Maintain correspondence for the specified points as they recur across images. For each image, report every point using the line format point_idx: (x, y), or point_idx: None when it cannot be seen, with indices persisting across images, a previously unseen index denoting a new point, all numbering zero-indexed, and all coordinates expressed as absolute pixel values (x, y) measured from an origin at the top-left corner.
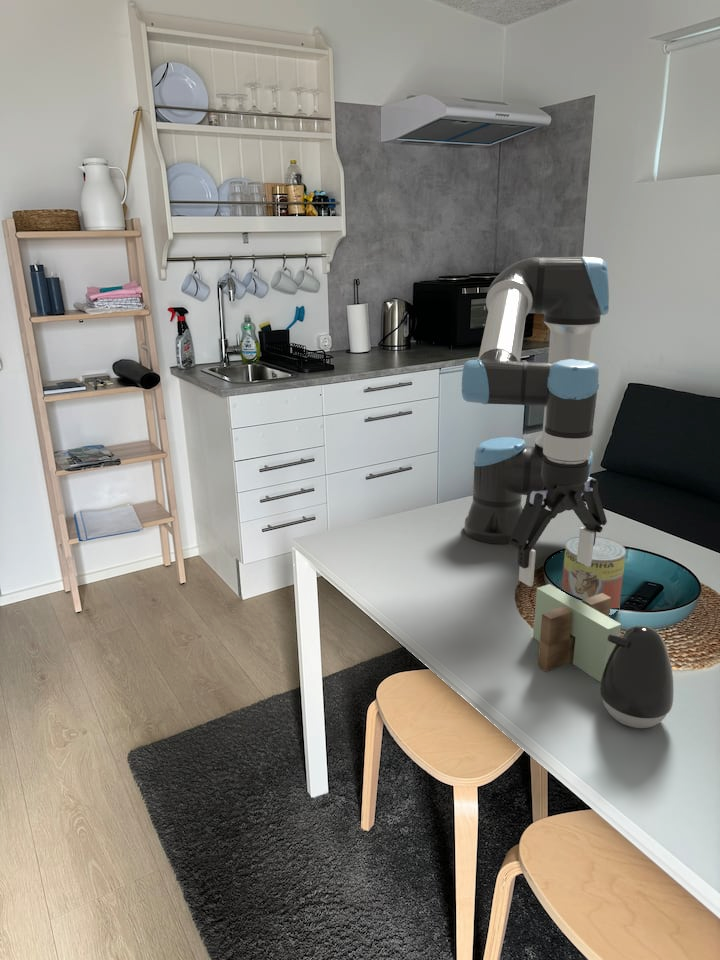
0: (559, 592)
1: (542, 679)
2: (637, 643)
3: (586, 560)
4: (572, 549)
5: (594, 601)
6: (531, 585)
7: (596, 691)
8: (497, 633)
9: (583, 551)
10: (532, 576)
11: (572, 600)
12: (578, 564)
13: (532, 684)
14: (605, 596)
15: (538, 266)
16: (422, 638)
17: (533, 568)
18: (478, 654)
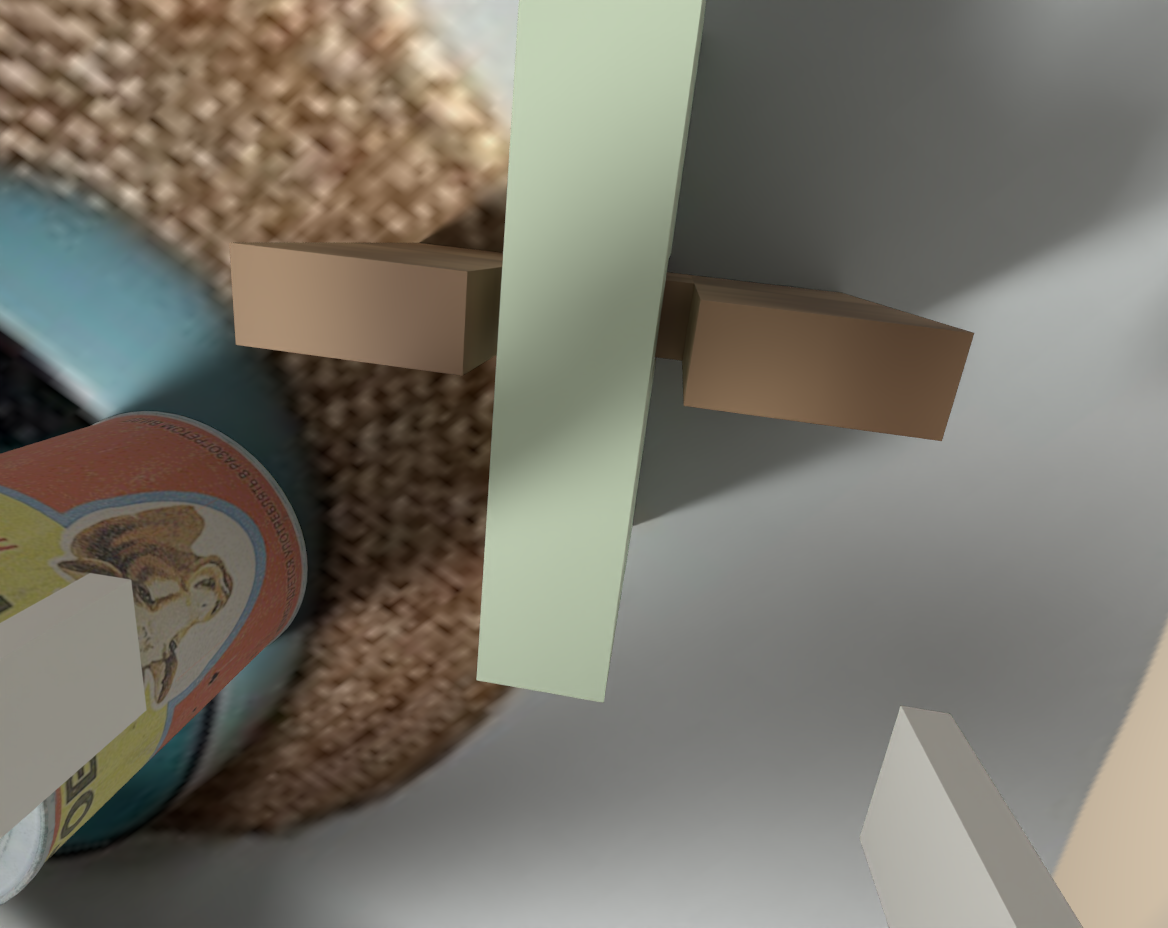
0: (518, 562)
1: (917, 259)
2: None
3: (82, 638)
4: (8, 835)
5: (401, 291)
6: (923, 714)
7: None
8: (737, 645)
9: (9, 744)
10: (969, 797)
11: (538, 421)
12: None
13: (998, 262)
14: (257, 287)
15: None
16: (1036, 820)
17: (1022, 901)
18: (960, 594)
